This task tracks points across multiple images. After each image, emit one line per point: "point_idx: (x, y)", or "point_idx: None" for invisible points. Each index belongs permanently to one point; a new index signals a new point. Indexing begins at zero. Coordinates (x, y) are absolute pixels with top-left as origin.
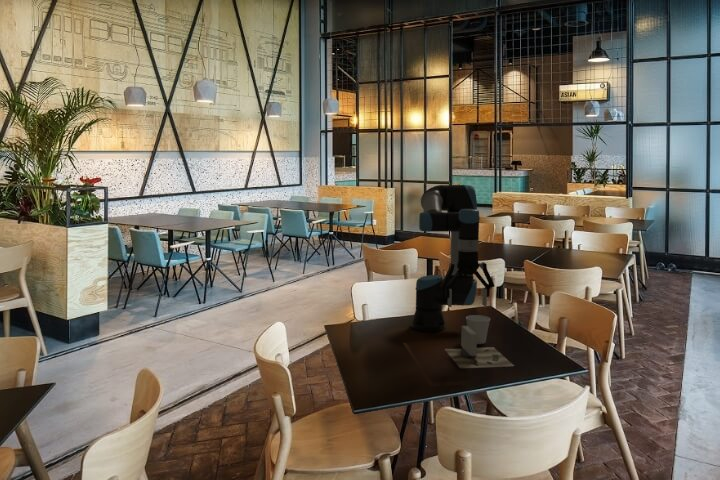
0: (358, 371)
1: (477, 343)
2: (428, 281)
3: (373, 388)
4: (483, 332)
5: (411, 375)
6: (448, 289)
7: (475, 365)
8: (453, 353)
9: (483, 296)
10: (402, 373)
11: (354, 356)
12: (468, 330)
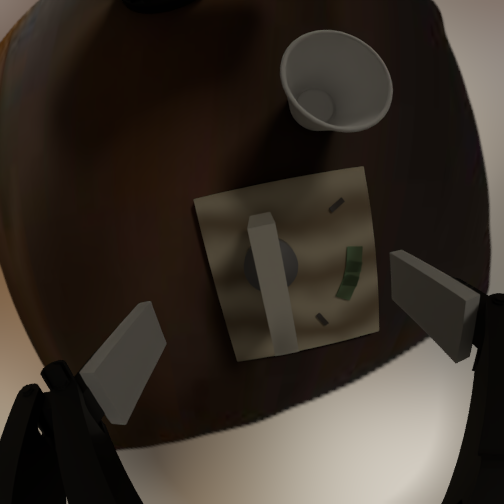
0: (46, 346)
1: (314, 130)
2: None
3: None
4: (346, 126)
5: None
6: (98, 423)
7: None
8: (222, 243)
9: (422, 296)
10: None
11: (13, 262)
12: (272, 302)
